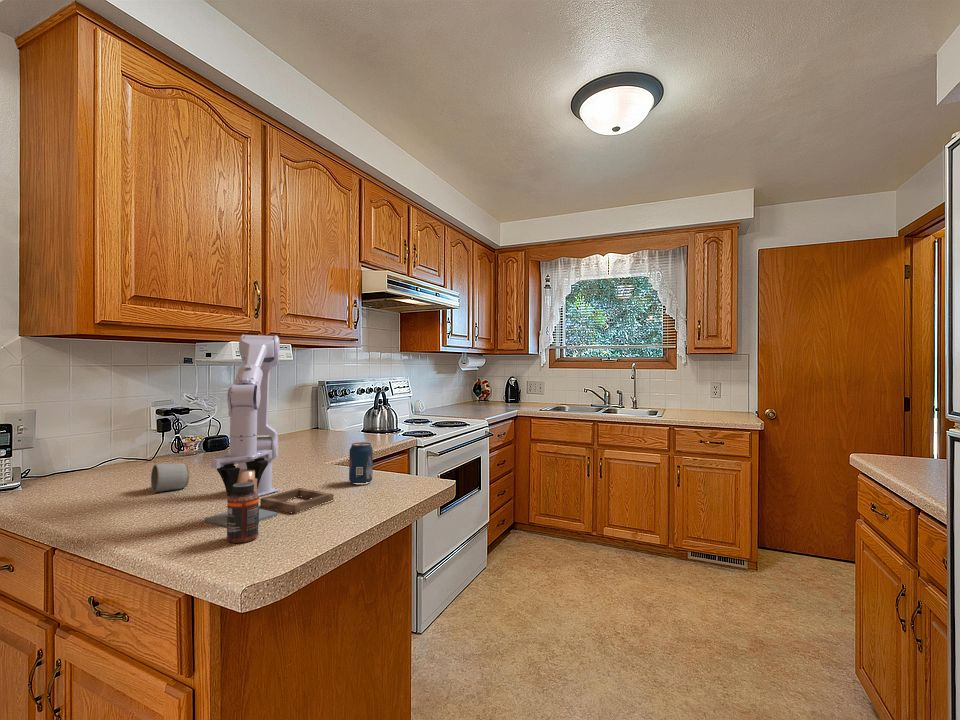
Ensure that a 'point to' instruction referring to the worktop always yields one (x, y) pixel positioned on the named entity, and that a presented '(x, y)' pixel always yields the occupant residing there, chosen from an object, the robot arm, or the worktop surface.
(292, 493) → the frame
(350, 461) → the soda can
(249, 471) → the peach capsule with nub
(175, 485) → the grey cylinder
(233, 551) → the worktop surface
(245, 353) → the robot arm
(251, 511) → the supplement bottle
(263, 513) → the mat
